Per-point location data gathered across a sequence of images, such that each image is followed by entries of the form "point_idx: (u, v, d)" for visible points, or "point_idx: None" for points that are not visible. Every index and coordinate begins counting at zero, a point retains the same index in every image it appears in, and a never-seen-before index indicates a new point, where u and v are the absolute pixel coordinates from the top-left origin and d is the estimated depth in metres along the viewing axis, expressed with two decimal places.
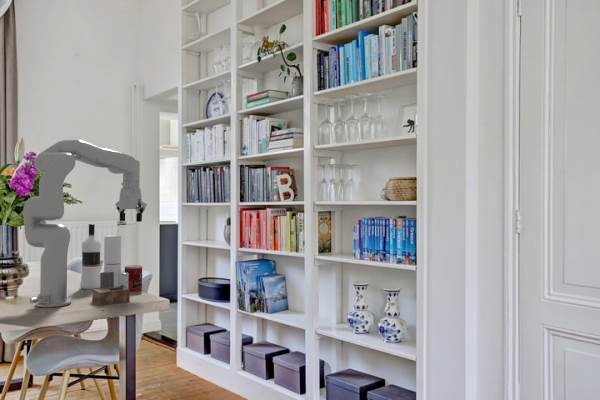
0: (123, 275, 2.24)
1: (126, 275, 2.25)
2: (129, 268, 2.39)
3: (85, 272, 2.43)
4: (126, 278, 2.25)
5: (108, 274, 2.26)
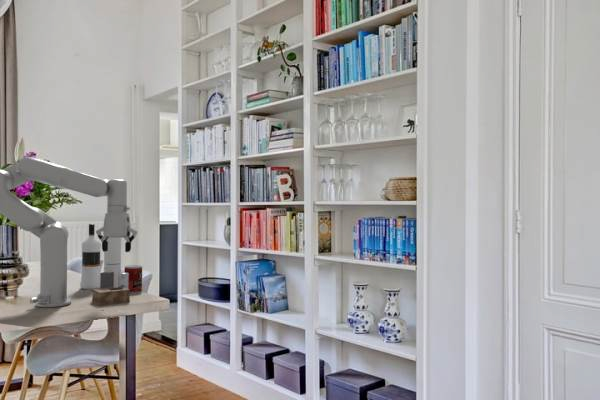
0: (123, 275, 2.24)
1: (126, 275, 2.25)
2: (129, 268, 2.39)
3: (85, 272, 2.43)
4: (126, 278, 2.25)
5: (108, 274, 2.26)
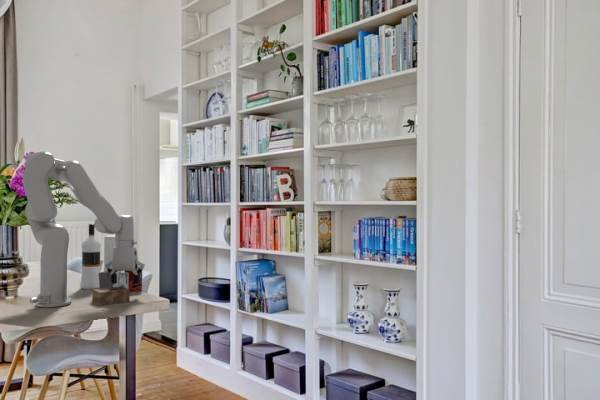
0: (123, 275, 2.24)
1: (126, 275, 2.25)
2: None
3: (85, 272, 2.43)
4: (126, 278, 2.25)
5: (106, 273, 2.26)
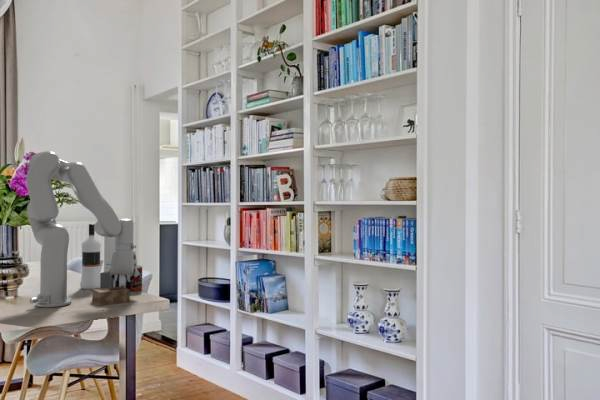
0: (123, 275, 2.24)
1: (126, 275, 2.25)
2: None
3: (85, 272, 2.43)
4: (126, 278, 2.25)
5: (108, 274, 2.26)
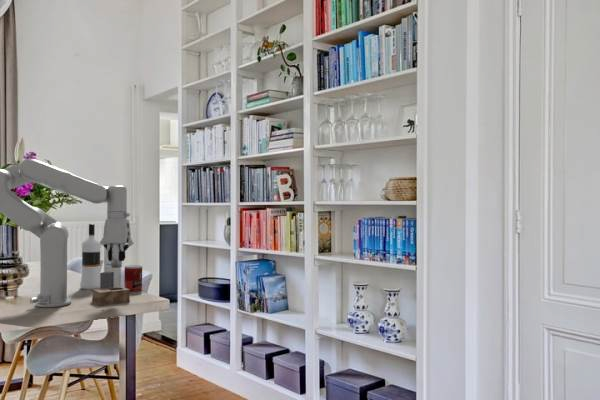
0: (116, 244, 2.14)
1: (119, 244, 2.15)
2: (129, 268, 2.39)
3: (85, 272, 2.43)
4: (119, 247, 2.15)
5: (108, 274, 2.26)
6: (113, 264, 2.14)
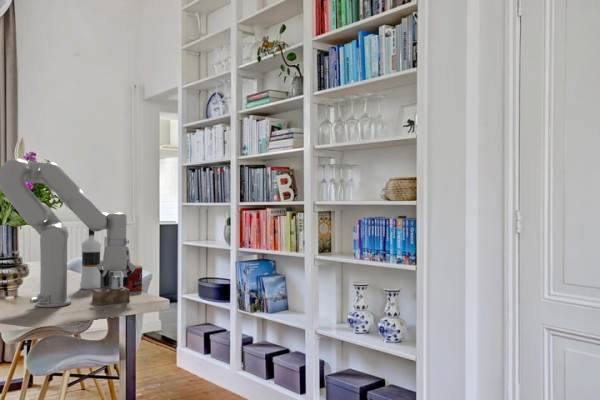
0: (115, 278, 2.14)
1: (118, 278, 2.15)
2: None
3: (85, 272, 2.43)
4: (118, 282, 2.15)
5: (108, 274, 2.26)
6: None
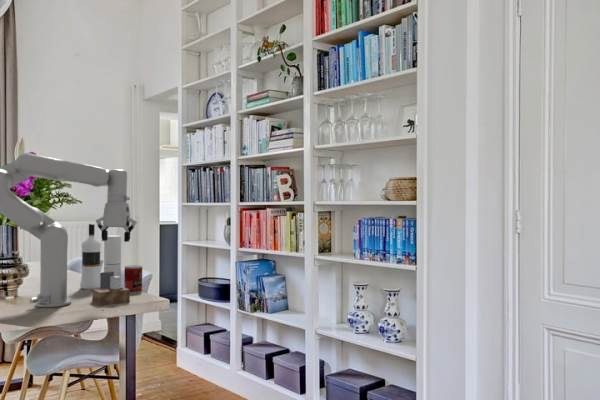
0: (115, 279, 2.14)
1: (118, 279, 2.15)
2: (129, 268, 2.39)
3: (85, 272, 2.43)
4: (118, 282, 2.15)
5: (108, 274, 2.26)
6: None
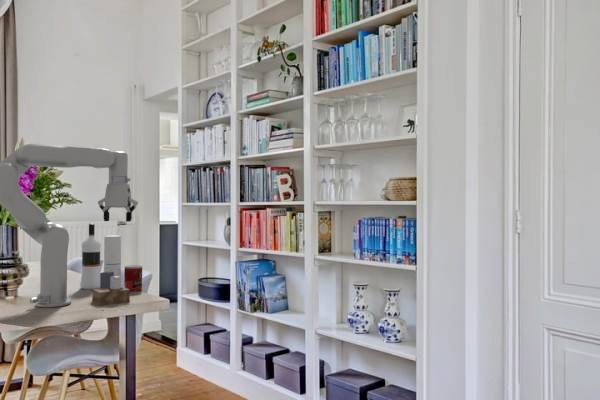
0: (115, 279, 2.14)
1: (118, 279, 2.15)
2: (129, 268, 2.39)
3: (85, 272, 2.43)
4: (118, 282, 2.15)
5: (108, 274, 2.26)
6: None
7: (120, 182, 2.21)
